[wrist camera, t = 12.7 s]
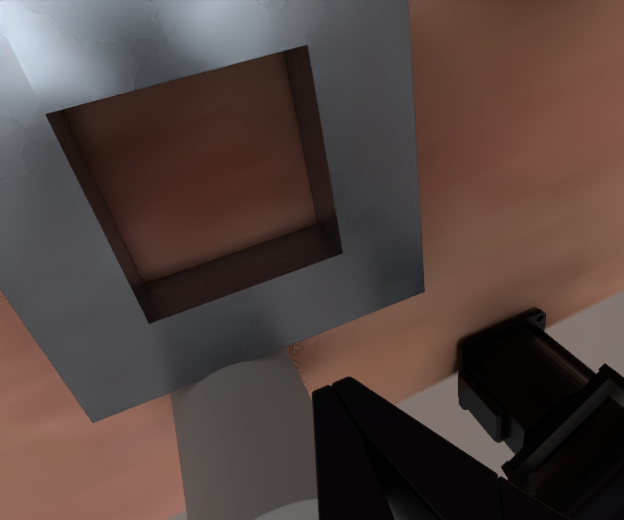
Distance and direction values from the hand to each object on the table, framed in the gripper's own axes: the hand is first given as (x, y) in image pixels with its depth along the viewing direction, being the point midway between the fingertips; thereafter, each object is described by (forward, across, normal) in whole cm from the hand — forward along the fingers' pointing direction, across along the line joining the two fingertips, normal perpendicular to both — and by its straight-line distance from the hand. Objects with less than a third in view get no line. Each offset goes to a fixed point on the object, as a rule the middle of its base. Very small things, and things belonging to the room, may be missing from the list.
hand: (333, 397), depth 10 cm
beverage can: (+14, +2, +10) cm, 17 cm away
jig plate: (+13, 0, 0) cm, 13 cm away
